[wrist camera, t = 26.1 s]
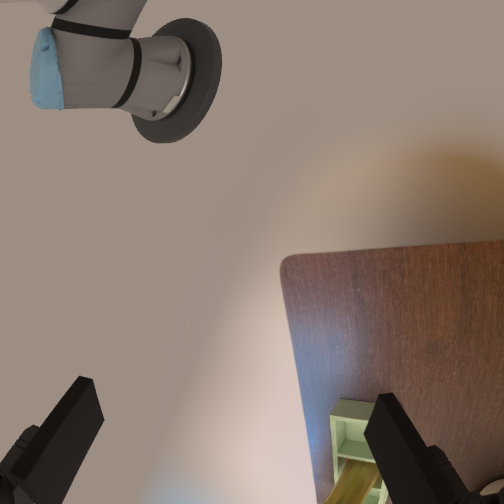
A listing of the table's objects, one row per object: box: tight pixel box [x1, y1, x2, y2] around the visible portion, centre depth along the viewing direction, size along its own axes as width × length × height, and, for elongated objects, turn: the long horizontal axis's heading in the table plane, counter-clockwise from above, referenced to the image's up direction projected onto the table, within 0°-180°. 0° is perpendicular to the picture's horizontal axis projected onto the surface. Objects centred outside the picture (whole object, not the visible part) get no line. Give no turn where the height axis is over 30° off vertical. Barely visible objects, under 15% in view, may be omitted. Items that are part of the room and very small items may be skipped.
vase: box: [323, 459, 380, 504], centre depth 30 cm, size 6×6×14 cm
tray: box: [330, 399, 402, 504], centre depth 34 cm, size 26×9×4 cm, turn 14°
